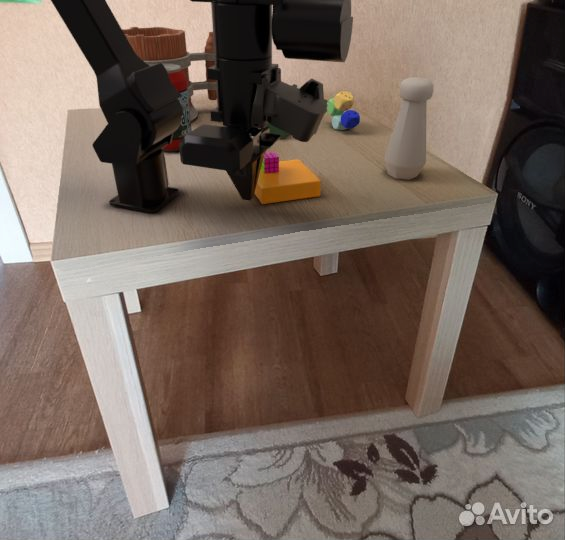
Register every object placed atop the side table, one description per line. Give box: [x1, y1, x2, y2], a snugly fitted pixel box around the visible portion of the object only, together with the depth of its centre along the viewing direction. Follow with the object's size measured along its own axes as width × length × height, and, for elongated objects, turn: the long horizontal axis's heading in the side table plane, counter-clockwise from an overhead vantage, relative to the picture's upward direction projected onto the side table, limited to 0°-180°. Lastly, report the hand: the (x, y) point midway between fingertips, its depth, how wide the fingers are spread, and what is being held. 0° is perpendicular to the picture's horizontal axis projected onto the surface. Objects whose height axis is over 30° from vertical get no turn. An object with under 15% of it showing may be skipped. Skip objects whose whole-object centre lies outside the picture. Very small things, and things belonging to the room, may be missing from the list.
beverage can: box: [149, 64, 192, 152], centre depth 73 cm, size 7×7×12 cm
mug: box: [121, 26, 217, 122], centre depth 86 cm, size 14×19×15 cm
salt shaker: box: [383, 76, 434, 181], centre depth 64 cm, size 6×6×13 cm
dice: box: [326, 90, 361, 131], centre depth 83 cm, size 8×3×6 cm, turn 25°
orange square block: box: [254, 151, 322, 205], centre depth 62 cm, size 8×8×4 cm
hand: (247, 199), depth 55 cm, fingers closed
